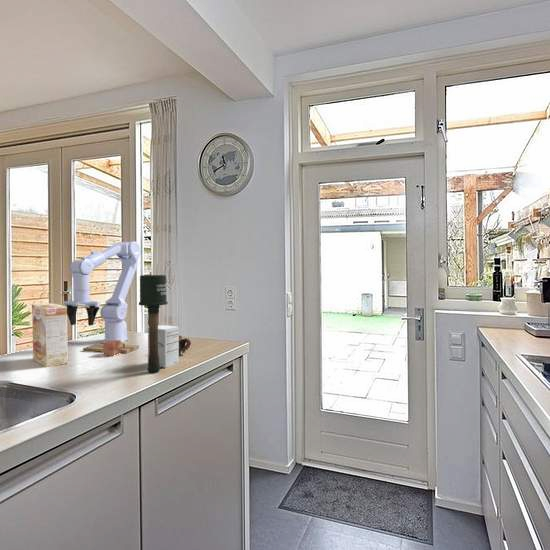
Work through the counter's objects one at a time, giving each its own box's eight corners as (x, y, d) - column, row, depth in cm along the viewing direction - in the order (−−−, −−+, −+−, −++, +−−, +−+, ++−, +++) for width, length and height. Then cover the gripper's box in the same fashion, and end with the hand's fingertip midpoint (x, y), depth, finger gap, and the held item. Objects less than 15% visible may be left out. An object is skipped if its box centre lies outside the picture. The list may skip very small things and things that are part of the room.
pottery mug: (156, 358, 148) (155, 337, 151) (168, 364, 156) (167, 343, 160) (187, 351, 146) (185, 329, 150) (197, 357, 155) (196, 336, 158)
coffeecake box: (32, 359, 144) (31, 304, 143) (54, 356, 149) (53, 302, 148) (45, 367, 133) (44, 307, 133) (68, 363, 138) (67, 305, 138)
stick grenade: (160, 376, 123) (159, 275, 122) (133, 374, 125) (132, 275, 124) (172, 369, 131) (172, 274, 130) (148, 367, 133) (147, 274, 132)
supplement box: (147, 366, 135) (146, 327, 135) (162, 361, 142) (161, 324, 142) (165, 368, 132) (164, 329, 132) (179, 363, 139) (179, 325, 139)
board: (97, 346, 166) (97, 343, 166) (138, 348, 163) (138, 345, 163) (83, 351, 157) (83, 348, 157) (126, 353, 154) (126, 349, 154)
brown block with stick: (119, 349, 161) (119, 337, 160) (129, 350, 160) (129, 337, 160) (103, 356, 150) (103, 342, 150) (113, 356, 149) (113, 342, 149)
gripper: (57, 290, 158) (58, 326, 159) (92, 291, 156) (92, 327, 156) (69, 289, 165) (70, 323, 166) (103, 290, 163) (103, 324, 163)
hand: (82, 325), depth 162 cm, fingers open, 7 cm apart
